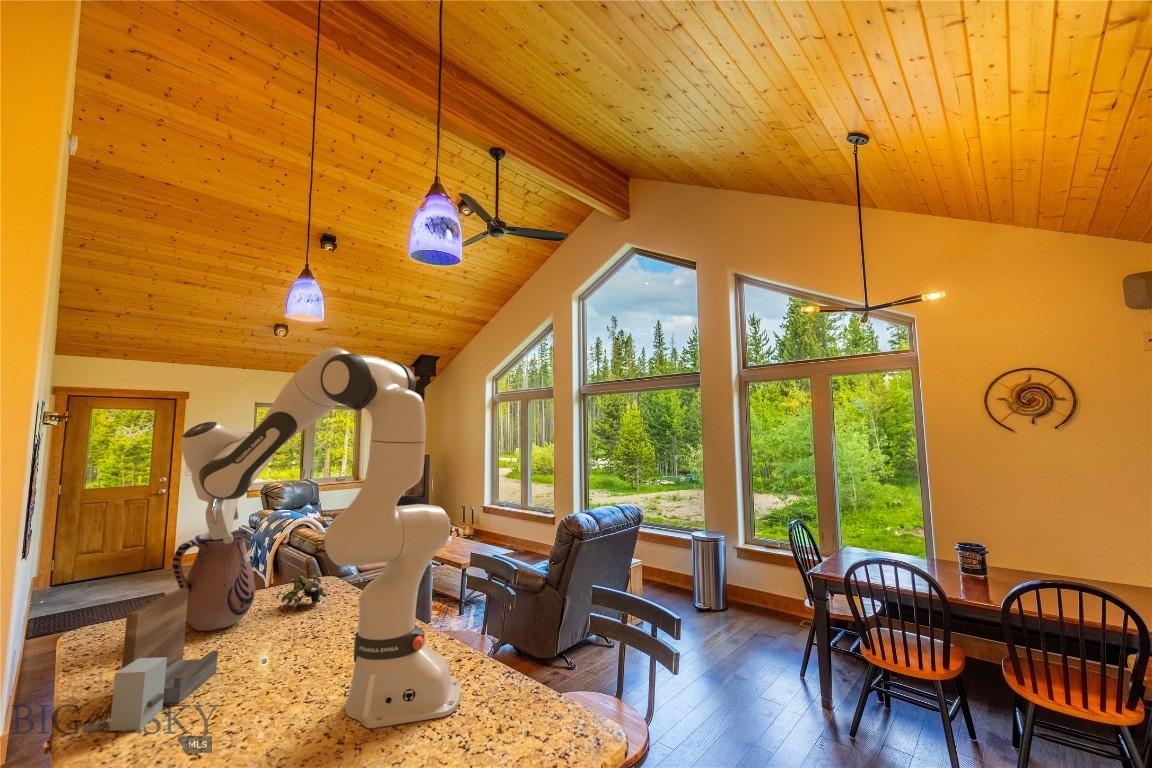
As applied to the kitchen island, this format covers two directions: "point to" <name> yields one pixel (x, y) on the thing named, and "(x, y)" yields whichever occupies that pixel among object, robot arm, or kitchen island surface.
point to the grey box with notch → (138, 693)
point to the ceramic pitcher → (216, 581)
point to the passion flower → (308, 587)
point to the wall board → (167, 645)
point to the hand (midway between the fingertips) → (232, 529)
